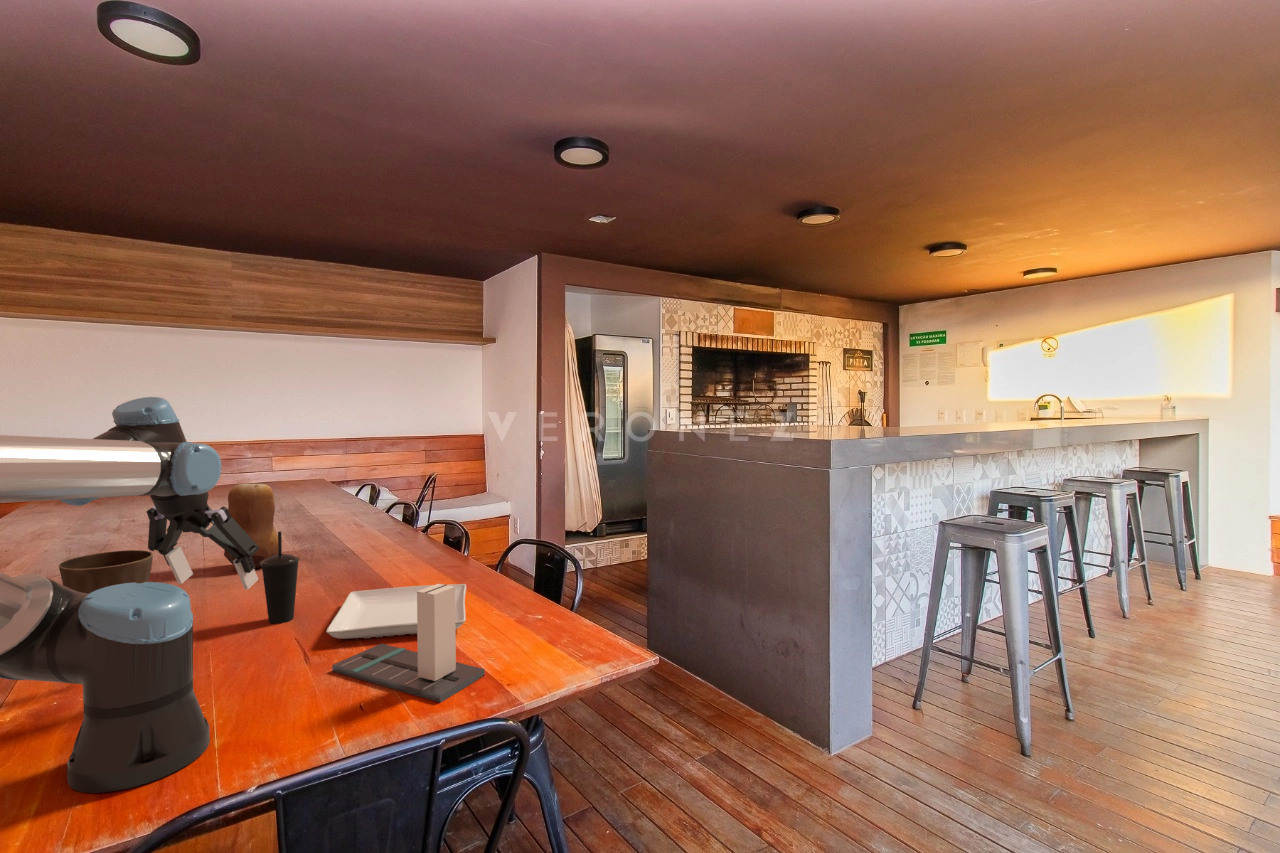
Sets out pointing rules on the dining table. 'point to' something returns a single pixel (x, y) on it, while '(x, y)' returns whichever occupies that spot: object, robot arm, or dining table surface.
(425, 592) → the fader tab
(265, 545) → the butternut squash
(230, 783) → the dining table surface
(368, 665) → the dark grey marked board
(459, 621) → the square plate
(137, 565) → the plant pot
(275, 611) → the drinking cup
